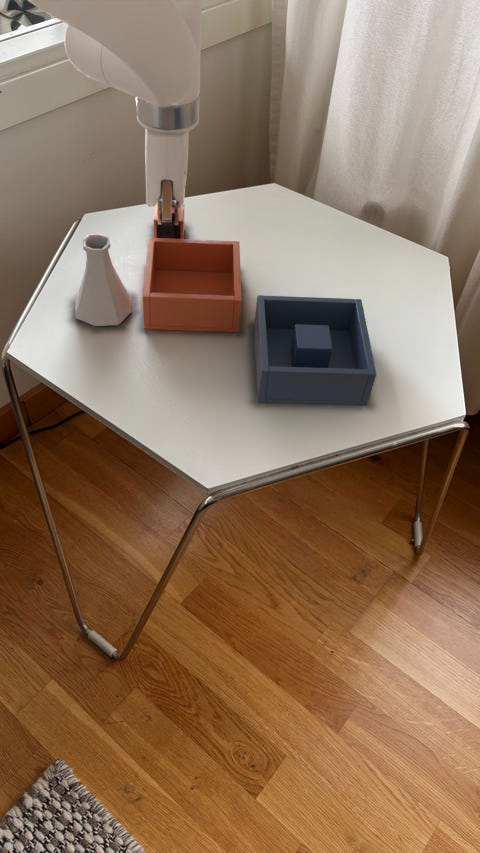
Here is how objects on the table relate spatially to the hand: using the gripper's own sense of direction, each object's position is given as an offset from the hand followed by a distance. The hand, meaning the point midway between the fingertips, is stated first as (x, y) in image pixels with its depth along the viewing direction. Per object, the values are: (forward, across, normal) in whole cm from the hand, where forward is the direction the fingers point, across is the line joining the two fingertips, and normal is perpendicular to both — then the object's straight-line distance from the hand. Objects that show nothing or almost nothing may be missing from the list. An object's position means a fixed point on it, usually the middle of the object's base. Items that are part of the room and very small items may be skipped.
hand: (169, 234), depth 99 cm
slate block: (0, +24, +18) cm, 30 cm away
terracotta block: (0, 0, 0) cm, 0 cm away
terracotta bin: (0, +13, +4) cm, 14 cm away
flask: (0, +16, -8) cm, 17 cm away
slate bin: (0, +24, +18) cm, 30 cm away
